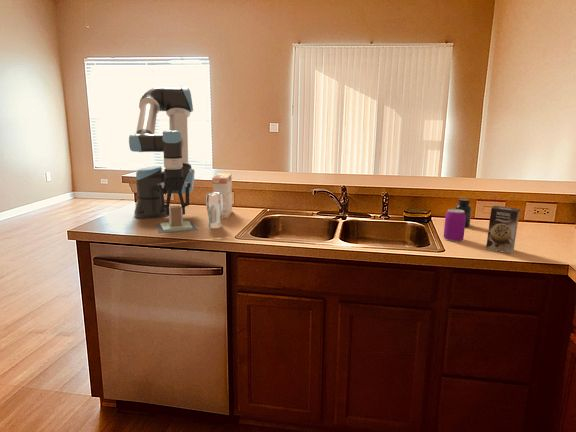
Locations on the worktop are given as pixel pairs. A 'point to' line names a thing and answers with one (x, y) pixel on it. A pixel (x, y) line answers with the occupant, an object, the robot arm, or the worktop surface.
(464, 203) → the supplement bottle
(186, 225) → the lid
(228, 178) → the coffeecake box
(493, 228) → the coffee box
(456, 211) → the beverage can
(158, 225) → the mat
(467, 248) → the worktop surface
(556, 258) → the worktop surface
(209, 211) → the beer glass
